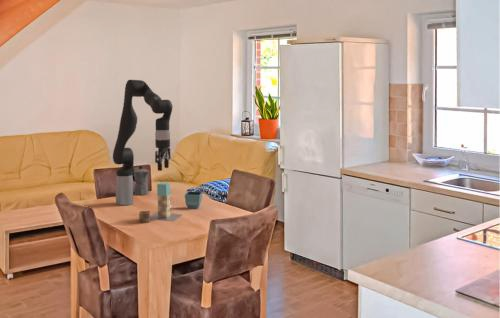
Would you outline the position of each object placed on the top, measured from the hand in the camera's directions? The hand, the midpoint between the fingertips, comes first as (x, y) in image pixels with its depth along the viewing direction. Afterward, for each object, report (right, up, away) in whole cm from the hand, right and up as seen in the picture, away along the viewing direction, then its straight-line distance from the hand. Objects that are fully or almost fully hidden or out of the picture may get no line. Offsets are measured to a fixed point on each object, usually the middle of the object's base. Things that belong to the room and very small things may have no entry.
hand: (163, 169), depth 287 cm
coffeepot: (-25, -17, +66) cm, 73 cm away
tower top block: (0, -19, +3) cm, 20 cm away
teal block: (0, -13, +2) cm, 14 cm away
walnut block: (-9, -28, -5) cm, 30 cm away
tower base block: (0, -25, +4) cm, 26 cm away
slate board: (0, -27, +4) cm, 27 cm away
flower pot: (+13, -23, +27) cm, 38 cm away
